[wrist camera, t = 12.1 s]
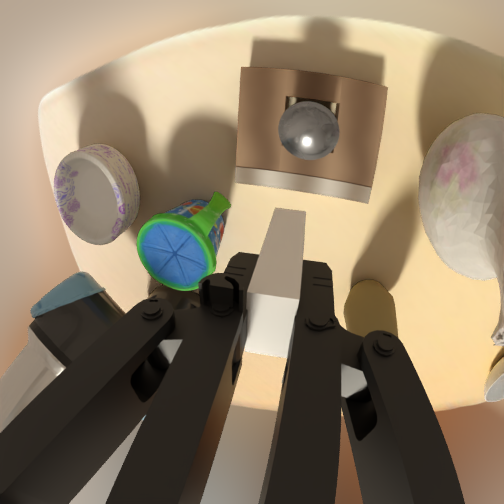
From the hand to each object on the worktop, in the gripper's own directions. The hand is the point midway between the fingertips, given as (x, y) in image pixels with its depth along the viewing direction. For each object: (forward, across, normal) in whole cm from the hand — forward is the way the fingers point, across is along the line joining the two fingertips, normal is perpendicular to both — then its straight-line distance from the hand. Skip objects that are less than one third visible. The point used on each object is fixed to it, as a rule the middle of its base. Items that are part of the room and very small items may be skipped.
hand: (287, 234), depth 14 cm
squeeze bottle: (+23, -13, +20) cm, 33 cm away
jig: (+22, -1, -4) cm, 23 cm away
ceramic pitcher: (+22, -23, -3) cm, 32 cm away
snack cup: (+23, +14, +11) cm, 29 cm away
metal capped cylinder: (+22, -1, -4) cm, 23 cm away
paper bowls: (+23, +30, +6) cm, 38 cm away
